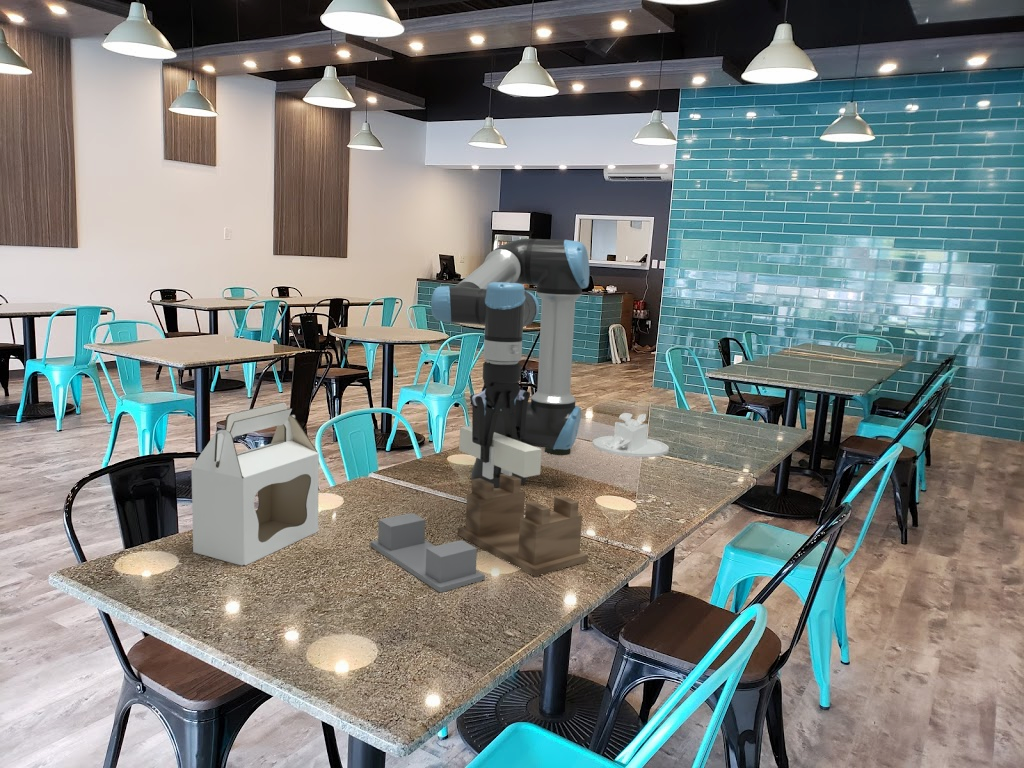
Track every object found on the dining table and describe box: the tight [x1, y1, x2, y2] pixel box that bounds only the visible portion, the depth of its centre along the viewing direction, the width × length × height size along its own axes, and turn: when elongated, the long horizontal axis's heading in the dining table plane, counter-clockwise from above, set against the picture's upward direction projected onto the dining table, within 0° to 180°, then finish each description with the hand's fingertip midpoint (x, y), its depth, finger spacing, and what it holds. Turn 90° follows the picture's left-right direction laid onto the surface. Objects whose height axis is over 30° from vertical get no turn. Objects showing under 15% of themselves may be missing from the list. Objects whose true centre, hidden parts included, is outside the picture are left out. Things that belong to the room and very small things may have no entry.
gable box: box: [191, 401, 320, 567], centre depth 154 cm, size 22×13×28 cm, turn 155°
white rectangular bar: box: [458, 425, 542, 478], centre depth 153 cm, size 22×4×5 cm, turn 38°
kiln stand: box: [369, 512, 486, 593], centre depth 149 cm, size 26×10×6 cm, turn 39°
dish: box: [591, 412, 670, 458], centre depth 250 cm, size 25×25×11 cm
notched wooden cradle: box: [457, 474, 589, 577], centre depth 159 cm, size 26×14×12 cm, turn 39°
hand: (497, 475), depth 154 cm, fingers closed on white rectangular bar, 4 cm apart
